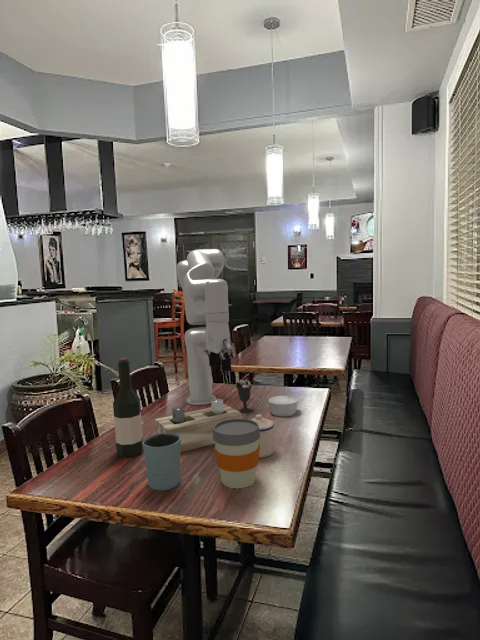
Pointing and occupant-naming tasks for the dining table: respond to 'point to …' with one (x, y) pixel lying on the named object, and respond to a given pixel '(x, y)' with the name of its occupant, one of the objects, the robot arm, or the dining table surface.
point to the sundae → (244, 392)
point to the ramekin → (283, 405)
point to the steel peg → (217, 407)
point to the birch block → (195, 426)
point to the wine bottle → (127, 415)
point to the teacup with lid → (265, 436)
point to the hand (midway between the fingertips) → (220, 368)
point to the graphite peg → (178, 415)
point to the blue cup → (162, 460)
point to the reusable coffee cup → (237, 451)
